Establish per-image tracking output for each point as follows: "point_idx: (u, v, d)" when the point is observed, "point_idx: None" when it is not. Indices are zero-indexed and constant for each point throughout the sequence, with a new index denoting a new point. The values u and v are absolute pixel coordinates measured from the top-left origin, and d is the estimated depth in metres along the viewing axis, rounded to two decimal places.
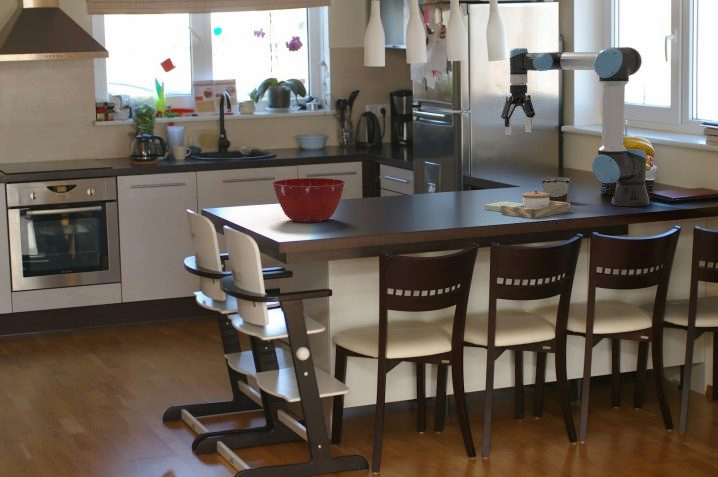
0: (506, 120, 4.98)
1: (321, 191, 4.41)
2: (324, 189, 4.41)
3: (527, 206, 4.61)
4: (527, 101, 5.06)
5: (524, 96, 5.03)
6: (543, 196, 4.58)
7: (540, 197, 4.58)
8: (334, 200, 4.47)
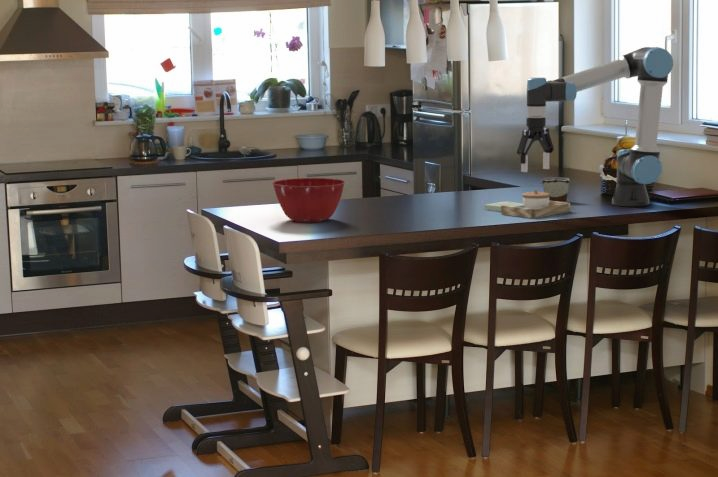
0: (522, 156, 4.56)
1: (321, 191, 4.41)
2: (324, 189, 4.41)
3: (527, 206, 4.61)
4: (545, 135, 4.64)
5: (542, 130, 4.61)
6: (543, 196, 4.58)
7: (540, 197, 4.58)
8: (334, 200, 4.47)
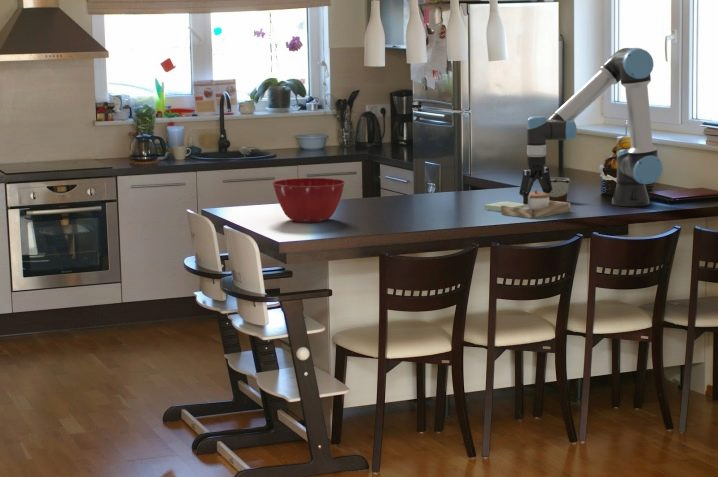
0: (525, 197, 4.58)
1: (321, 191, 4.41)
2: (324, 189, 4.41)
3: None
4: (545, 174, 4.66)
5: (542, 168, 4.62)
6: (543, 196, 4.58)
7: (540, 197, 4.58)
8: (334, 200, 4.47)
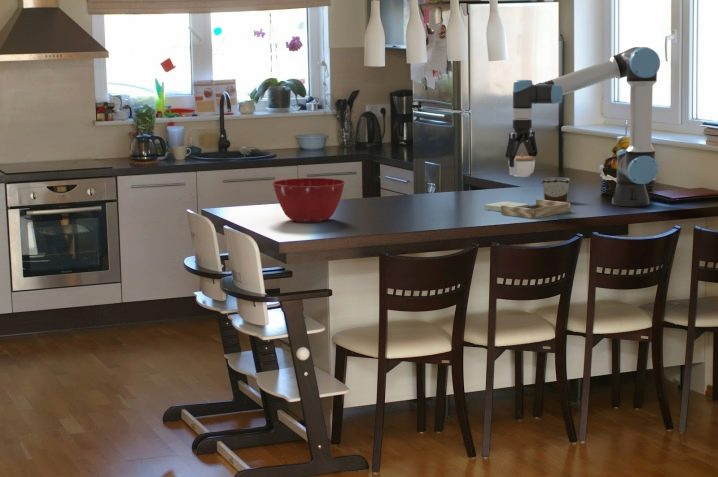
0: (511, 160, 4.61)
1: (321, 191, 4.41)
2: (324, 189, 4.41)
3: None
4: (530, 138, 4.68)
5: (528, 131, 4.65)
6: (529, 159, 4.61)
7: (526, 160, 4.61)
8: (334, 200, 4.47)
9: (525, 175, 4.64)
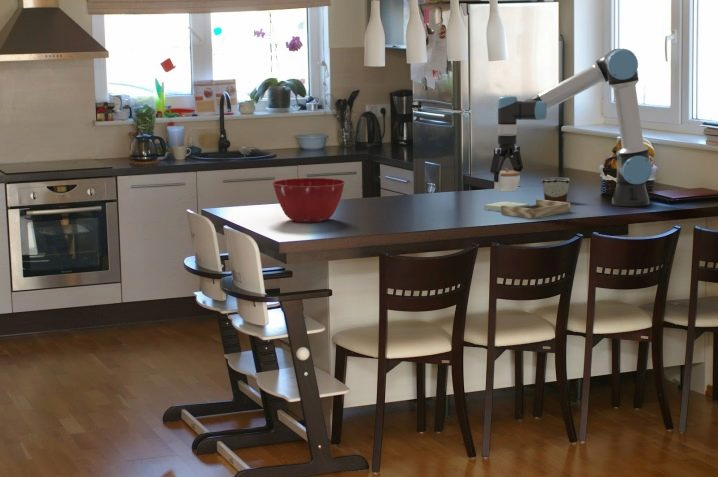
0: (495, 175, 4.68)
1: (321, 191, 4.41)
2: (324, 189, 4.41)
3: None
4: (516, 153, 4.75)
5: (513, 147, 4.72)
6: (513, 174, 4.68)
7: (510, 175, 4.68)
8: (334, 200, 4.47)
9: (510, 190, 4.71)
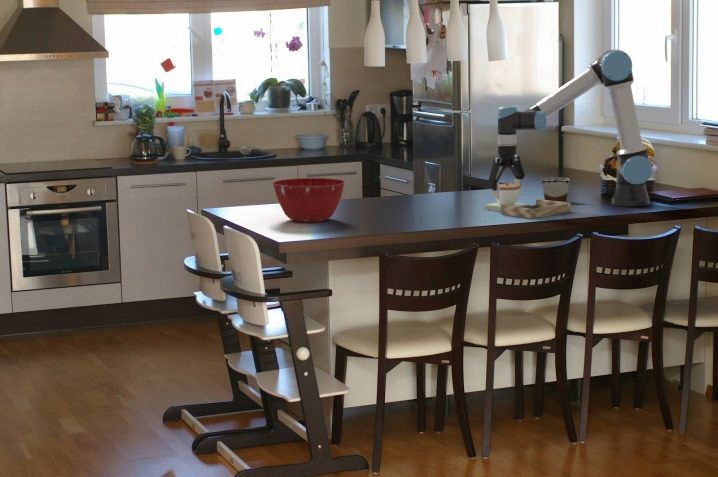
0: (494, 183, 4.68)
1: (321, 191, 4.41)
2: (324, 189, 4.41)
3: None
4: (516, 162, 4.76)
5: (513, 157, 4.73)
6: (514, 188, 4.69)
7: (511, 189, 4.69)
8: (334, 200, 4.47)
9: (510, 203, 4.72)
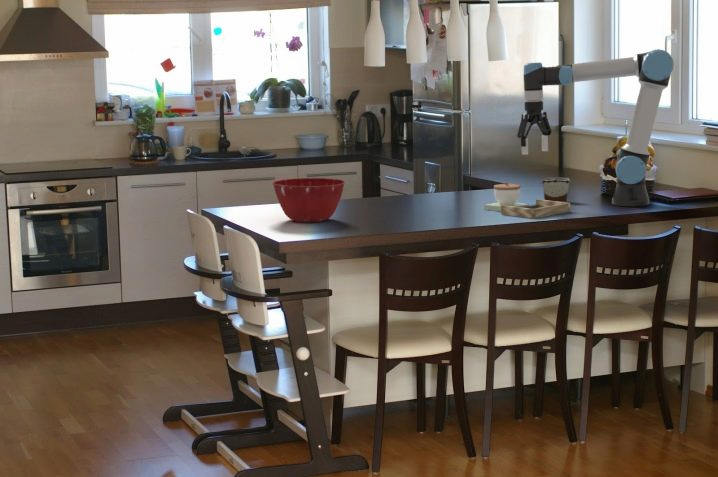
0: (522, 139, 4.69)
1: (321, 191, 4.41)
2: (324, 189, 4.41)
3: (498, 198, 4.71)
4: (543, 118, 4.78)
5: (540, 113, 4.74)
6: (513, 188, 4.69)
7: (511, 189, 4.69)
8: (334, 200, 4.47)
9: (510, 203, 4.72)
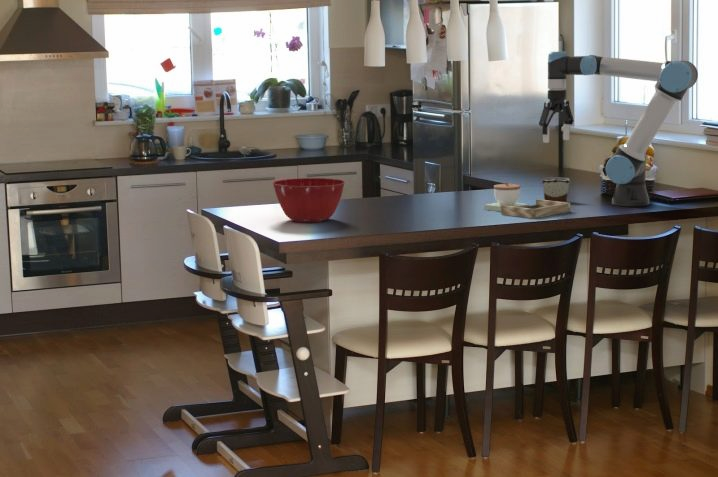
0: (544, 127, 4.73)
1: (321, 191, 4.41)
2: (324, 189, 4.41)
3: (498, 198, 4.71)
4: (565, 107, 4.81)
5: (562, 102, 4.78)
6: (513, 188, 4.69)
7: (511, 189, 4.69)
8: (334, 200, 4.47)
9: (510, 203, 4.72)
